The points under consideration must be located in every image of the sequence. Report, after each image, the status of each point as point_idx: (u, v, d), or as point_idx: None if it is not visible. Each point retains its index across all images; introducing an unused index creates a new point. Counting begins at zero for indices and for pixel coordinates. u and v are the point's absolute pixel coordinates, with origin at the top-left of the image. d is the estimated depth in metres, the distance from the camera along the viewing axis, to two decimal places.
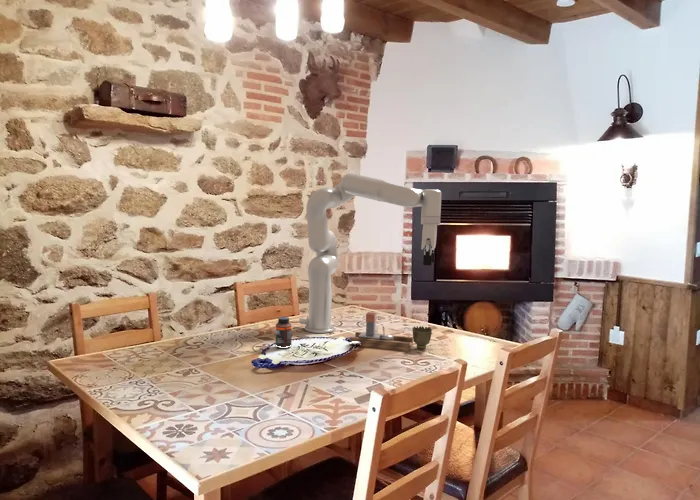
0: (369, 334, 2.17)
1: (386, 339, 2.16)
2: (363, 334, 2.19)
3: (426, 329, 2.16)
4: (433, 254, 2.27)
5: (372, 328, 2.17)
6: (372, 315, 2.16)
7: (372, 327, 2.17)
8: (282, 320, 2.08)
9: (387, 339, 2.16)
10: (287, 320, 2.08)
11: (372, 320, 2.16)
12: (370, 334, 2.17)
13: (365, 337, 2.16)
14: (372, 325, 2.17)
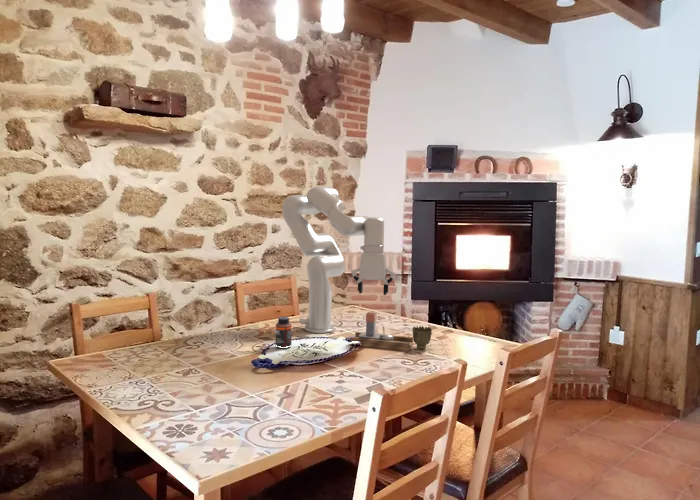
0: (369, 334, 2.17)
1: (386, 339, 2.16)
2: (363, 334, 2.19)
3: (426, 329, 2.16)
4: (362, 284, 2.19)
5: (372, 328, 2.17)
6: (372, 315, 2.16)
7: (372, 327, 2.17)
8: (282, 320, 2.08)
9: (387, 339, 2.16)
10: (287, 320, 2.08)
11: (372, 320, 2.16)
12: (370, 334, 2.17)
13: (365, 337, 2.16)
14: (372, 325, 2.17)
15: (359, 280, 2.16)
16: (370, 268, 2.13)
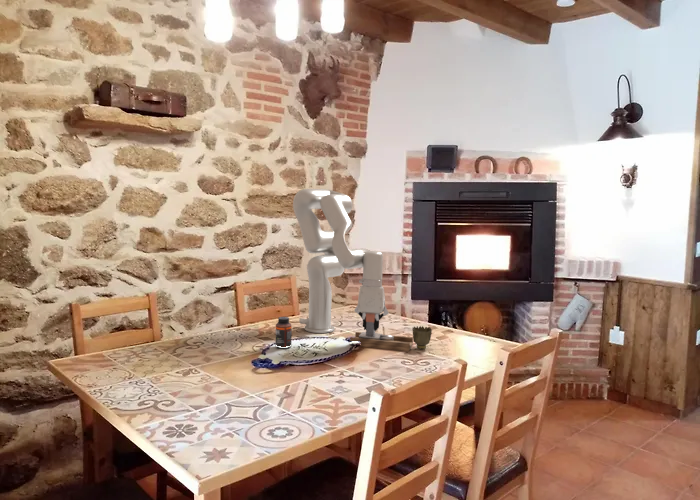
0: (369, 334, 2.17)
1: (386, 339, 2.16)
2: (363, 334, 2.19)
3: (426, 329, 2.16)
4: None
5: (372, 328, 2.17)
6: (372, 315, 2.16)
7: (372, 327, 2.17)
8: (282, 320, 2.08)
9: (387, 339, 2.16)
10: (287, 320, 2.08)
11: (372, 320, 2.16)
12: (370, 334, 2.17)
13: (365, 337, 2.16)
14: (372, 325, 2.17)
15: (364, 317, 2.17)
16: (368, 302, 2.15)
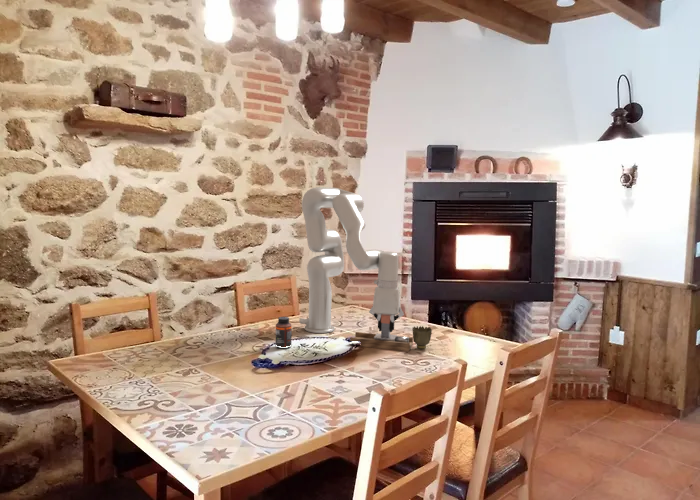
0: (384, 335, 2.16)
1: (401, 341, 2.15)
2: (378, 335, 2.17)
3: (426, 329, 2.16)
4: None
5: (387, 329, 2.15)
6: (387, 316, 2.15)
7: (387, 328, 2.15)
8: (282, 320, 2.08)
9: (402, 341, 2.15)
10: (287, 320, 2.08)
11: (387, 321, 2.15)
12: (385, 335, 2.16)
13: (380, 338, 2.15)
14: (387, 326, 2.15)
15: (379, 318, 2.16)
16: (384, 303, 2.13)
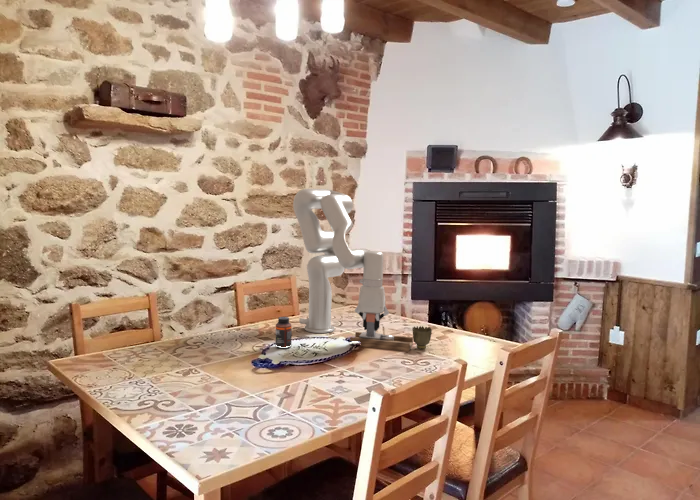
0: (369, 334, 2.17)
1: (386, 339, 2.16)
2: (363, 334, 2.19)
3: (426, 329, 2.16)
4: None
5: (372, 328, 2.17)
6: (372, 315, 2.16)
7: (373, 327, 2.17)
8: (282, 320, 2.08)
9: (387, 339, 2.16)
10: (287, 320, 2.08)
11: (372, 320, 2.16)
12: (370, 334, 2.17)
13: (365, 337, 2.16)
14: (372, 325, 2.17)
15: (364, 317, 2.17)
16: (369, 302, 2.15)
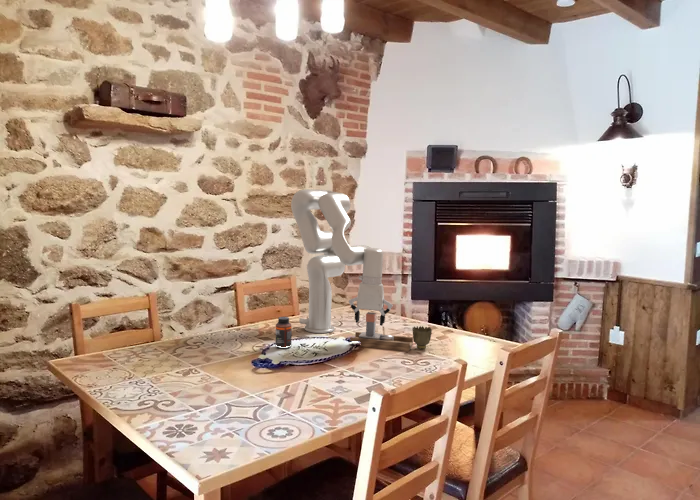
0: (369, 334, 2.17)
1: (386, 339, 2.16)
2: (363, 334, 2.19)
3: (426, 329, 2.16)
4: (359, 313, 2.21)
5: (372, 328, 2.17)
6: (372, 315, 2.16)
7: (372, 327, 2.17)
8: (282, 320, 2.08)
9: (387, 339, 2.16)
10: (287, 320, 2.08)
11: (372, 320, 2.16)
12: (370, 334, 2.17)
13: (365, 337, 2.16)
14: (372, 325, 2.17)
15: (356, 309, 2.18)
16: (367, 299, 2.15)
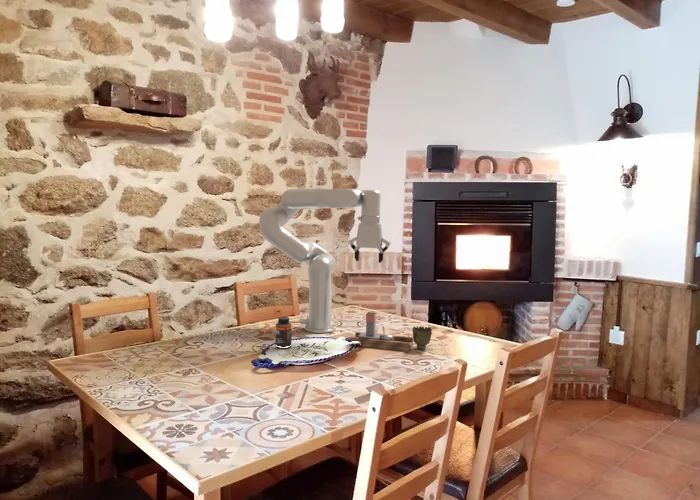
0: (369, 334, 2.17)
1: (386, 339, 2.16)
2: (363, 334, 2.19)
3: (426, 329, 2.16)
4: (359, 252, 2.33)
5: (372, 328, 2.17)
6: (372, 315, 2.16)
7: (372, 327, 2.17)
8: (282, 320, 2.08)
9: (387, 339, 2.16)
10: (287, 320, 2.08)
11: (372, 320, 2.16)
12: (370, 334, 2.17)
13: (365, 337, 2.16)
14: (372, 325, 2.17)
15: (356, 248, 2.31)
16: (366, 237, 2.27)
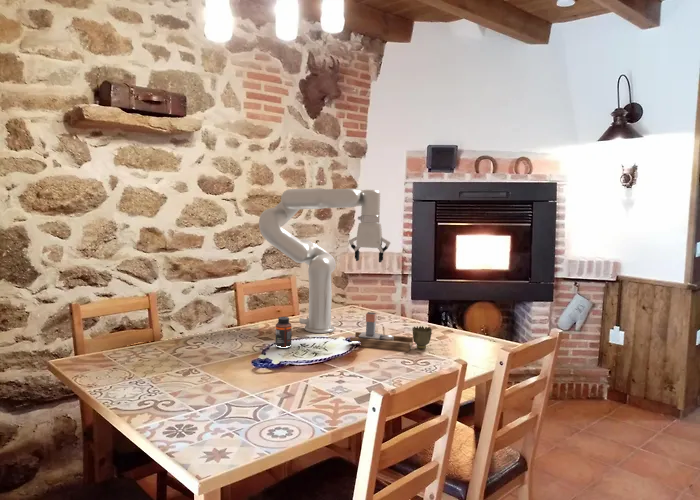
0: (369, 334, 2.17)
1: (386, 339, 2.16)
2: (363, 334, 2.19)
3: (426, 329, 2.16)
4: None
5: (372, 328, 2.17)
6: (372, 315, 2.16)
7: (372, 327, 2.17)
8: (282, 320, 2.08)
9: (387, 339, 2.16)
10: (287, 320, 2.08)
11: (372, 320, 2.16)
12: (370, 334, 2.17)
13: (365, 337, 2.16)
14: (372, 325, 2.17)
15: (356, 248, 2.31)
16: (366, 237, 2.28)
